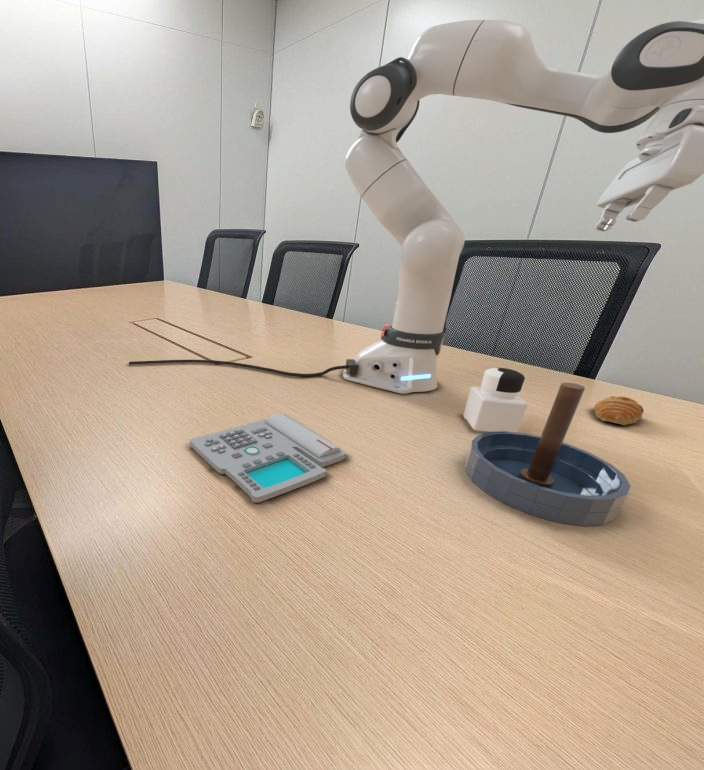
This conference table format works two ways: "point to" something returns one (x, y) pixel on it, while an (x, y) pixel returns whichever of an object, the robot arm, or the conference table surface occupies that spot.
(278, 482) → the office telephone
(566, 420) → the stirring stick
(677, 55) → the robot arm
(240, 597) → the conference table surface
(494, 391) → the medicine bottle
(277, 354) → the conference table surface
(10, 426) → the conference table surface
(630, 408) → the pastry
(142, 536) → the conference table surface
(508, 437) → the bowl
